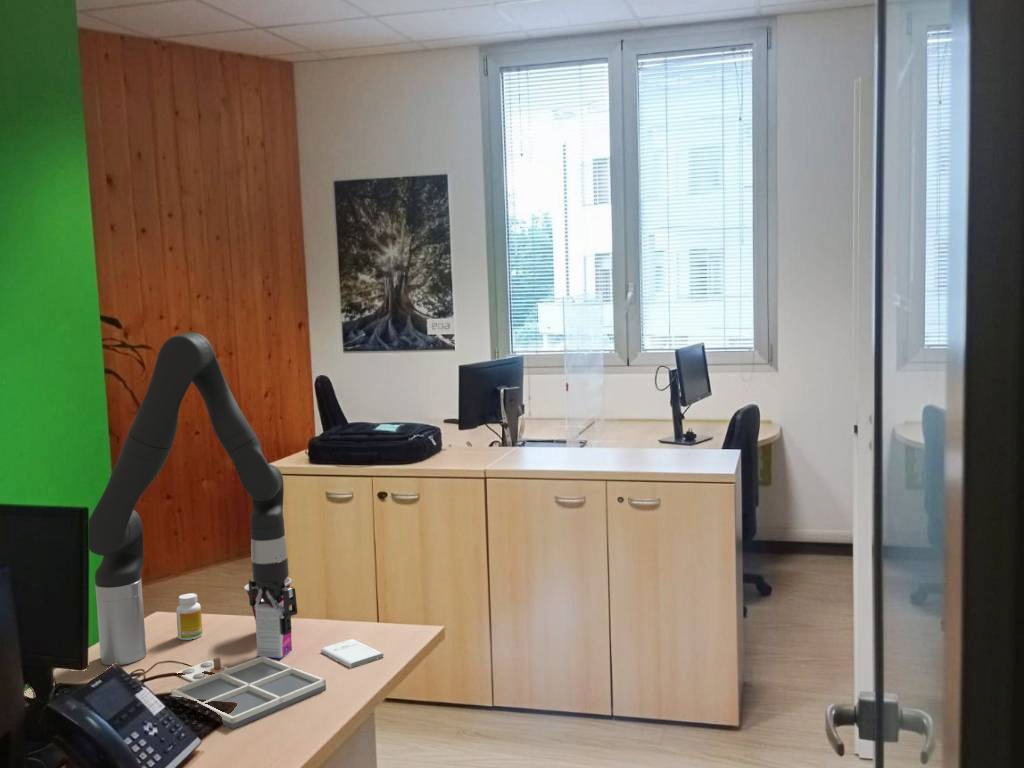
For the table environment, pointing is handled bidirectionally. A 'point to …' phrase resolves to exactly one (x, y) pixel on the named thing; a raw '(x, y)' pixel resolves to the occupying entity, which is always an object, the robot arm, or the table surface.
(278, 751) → the table surface
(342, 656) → the external hard drive
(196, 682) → the socket board
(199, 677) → the tile
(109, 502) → the robot arm
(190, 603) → the supplement bottle
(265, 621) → the supplement box
